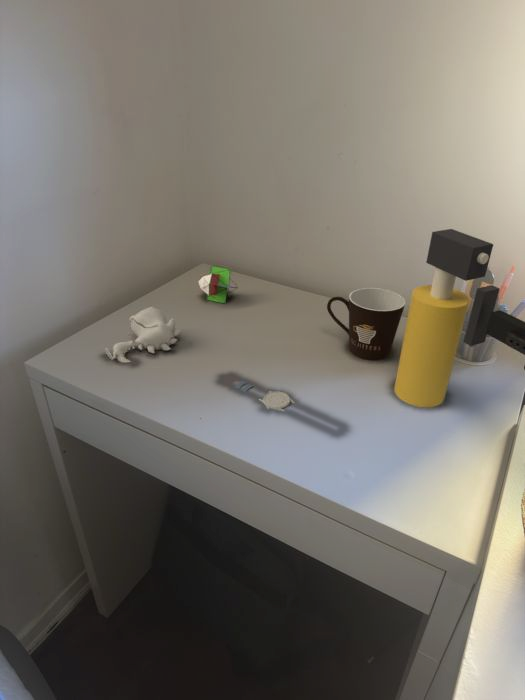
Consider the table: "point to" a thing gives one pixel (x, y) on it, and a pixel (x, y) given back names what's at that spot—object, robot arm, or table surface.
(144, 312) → the toy character
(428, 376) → the spray bottle
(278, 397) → the wristwatch
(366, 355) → the coffee mug
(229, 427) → the table surface
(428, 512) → the table surface
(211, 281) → the geometric puzzle
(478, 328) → the trigger
